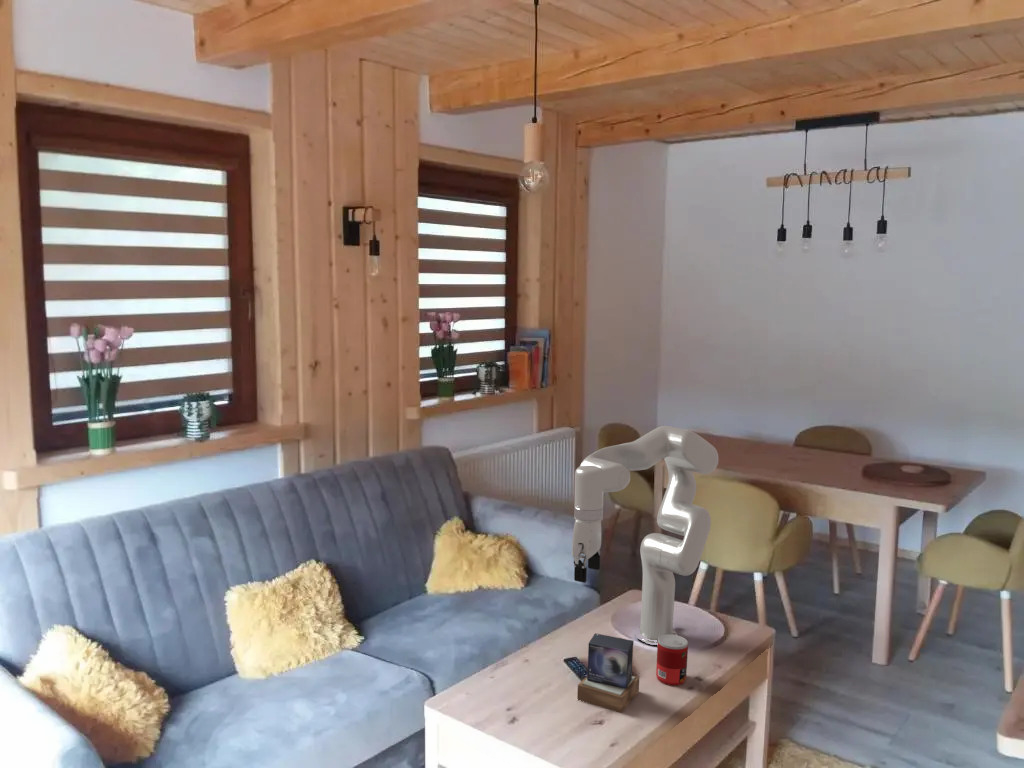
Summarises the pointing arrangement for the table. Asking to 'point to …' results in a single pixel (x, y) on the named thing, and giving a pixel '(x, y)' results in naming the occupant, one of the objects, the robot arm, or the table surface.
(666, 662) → the canned food
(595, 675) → the small box
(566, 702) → the table surface
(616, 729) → the table surface
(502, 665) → the table surface
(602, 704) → the wooden box
